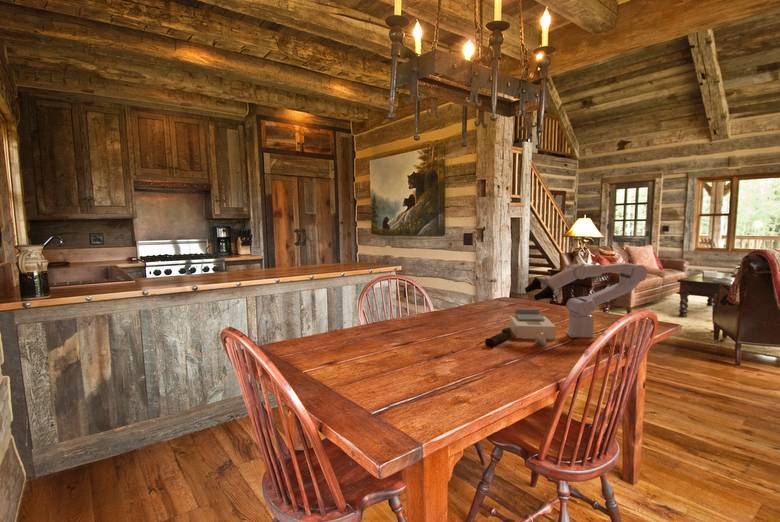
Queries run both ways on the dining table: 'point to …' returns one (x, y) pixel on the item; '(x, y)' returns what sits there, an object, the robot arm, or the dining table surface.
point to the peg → (540, 339)
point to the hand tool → (498, 338)
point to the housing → (532, 328)
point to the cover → (528, 314)
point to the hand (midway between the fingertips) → (530, 294)
